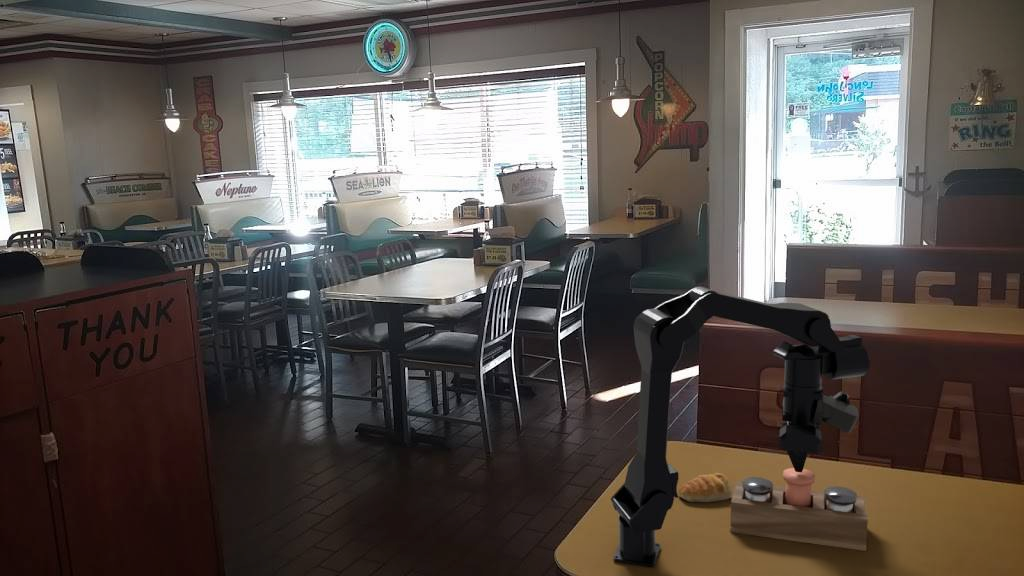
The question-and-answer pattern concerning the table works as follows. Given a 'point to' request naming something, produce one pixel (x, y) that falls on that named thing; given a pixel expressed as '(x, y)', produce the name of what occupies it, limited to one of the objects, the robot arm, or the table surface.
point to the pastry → (706, 488)
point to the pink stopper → (798, 487)
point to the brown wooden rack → (799, 520)
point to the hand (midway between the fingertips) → (798, 471)
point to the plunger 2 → (840, 499)
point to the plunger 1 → (757, 489)
